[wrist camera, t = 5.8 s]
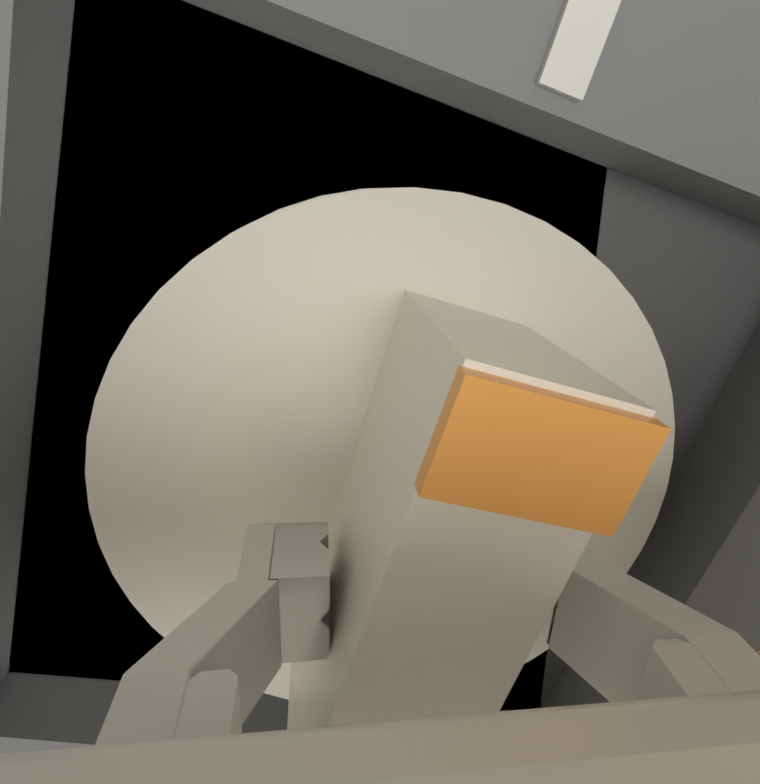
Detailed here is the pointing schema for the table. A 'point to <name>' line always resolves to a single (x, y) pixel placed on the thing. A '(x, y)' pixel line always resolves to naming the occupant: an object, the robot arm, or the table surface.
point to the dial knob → (386, 437)
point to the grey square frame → (344, 173)
